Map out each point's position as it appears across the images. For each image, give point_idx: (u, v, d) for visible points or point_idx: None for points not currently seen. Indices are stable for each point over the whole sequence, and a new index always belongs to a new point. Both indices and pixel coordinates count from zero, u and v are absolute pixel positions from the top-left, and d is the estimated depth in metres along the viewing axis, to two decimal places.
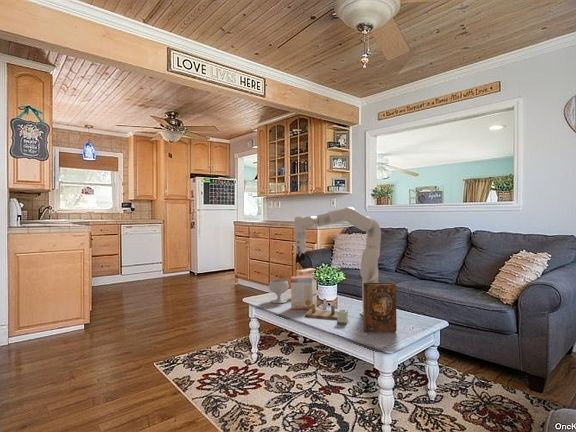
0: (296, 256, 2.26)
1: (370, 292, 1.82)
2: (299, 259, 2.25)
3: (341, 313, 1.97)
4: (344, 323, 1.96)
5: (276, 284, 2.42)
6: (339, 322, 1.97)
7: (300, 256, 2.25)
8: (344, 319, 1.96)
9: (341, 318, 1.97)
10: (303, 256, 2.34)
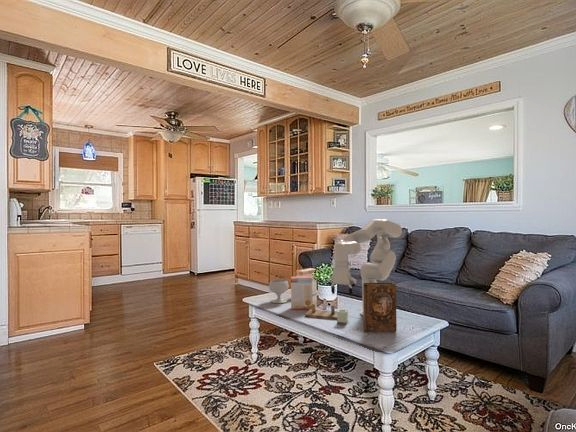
0: (350, 288, 1.96)
1: (370, 292, 1.82)
2: None
3: (341, 313, 1.97)
4: (344, 323, 1.96)
5: (276, 284, 2.42)
6: (339, 322, 1.97)
7: None
8: (344, 319, 1.96)
9: (341, 318, 1.97)
10: (334, 288, 2.02)
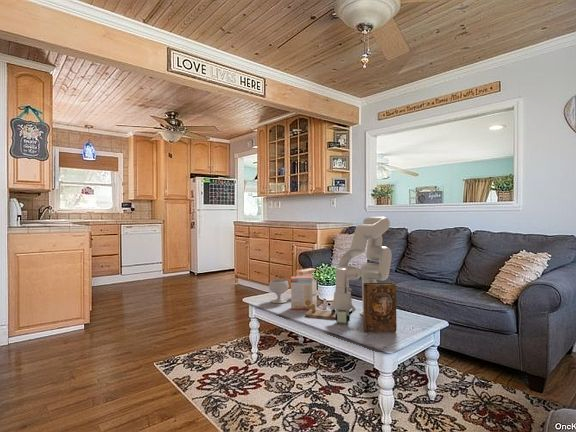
0: (347, 315, 1.97)
1: (370, 292, 1.82)
2: None
3: (341, 313, 1.97)
4: (344, 323, 1.96)
5: (276, 284, 2.42)
6: (339, 322, 1.97)
7: None
8: (344, 319, 1.96)
9: (341, 318, 1.97)
10: None
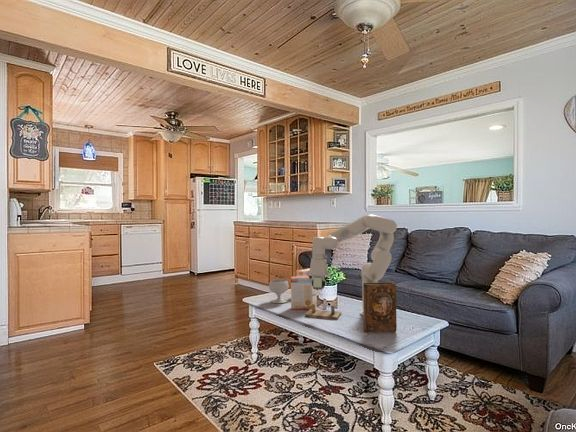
0: (323, 281, 2.10)
1: (370, 292, 1.82)
2: None
3: (317, 279, 2.10)
4: (319, 288, 2.09)
5: (276, 284, 2.42)
6: (315, 287, 2.10)
7: None
8: (320, 284, 2.10)
9: (317, 283, 2.10)
10: None
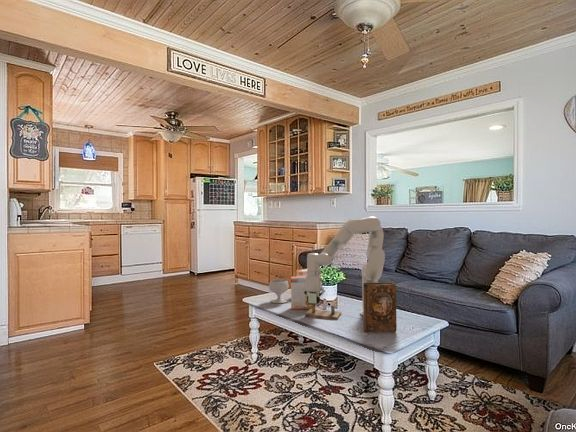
0: (317, 297, 2.14)
1: (370, 292, 1.82)
2: None
3: (312, 294, 2.14)
4: (314, 304, 2.13)
5: (276, 284, 2.42)
6: (310, 303, 2.14)
7: None
8: (314, 300, 2.13)
9: (311, 299, 2.14)
10: None
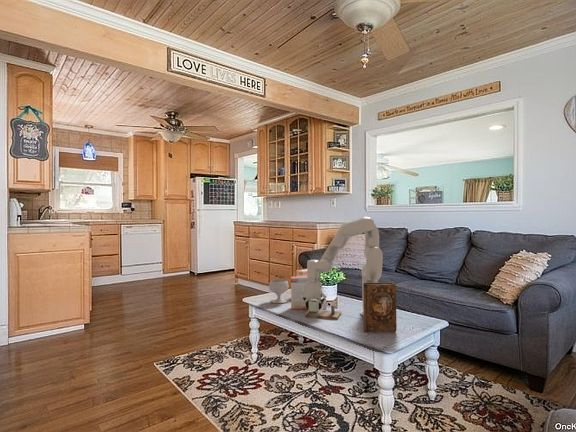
0: (319, 303, 2.14)
1: (370, 292, 1.82)
2: None
3: (312, 303, 2.14)
4: (315, 312, 2.13)
5: (276, 284, 2.42)
6: (310, 311, 2.14)
7: None
8: (315, 308, 2.13)
9: (312, 307, 2.14)
10: (308, 303, 2.18)
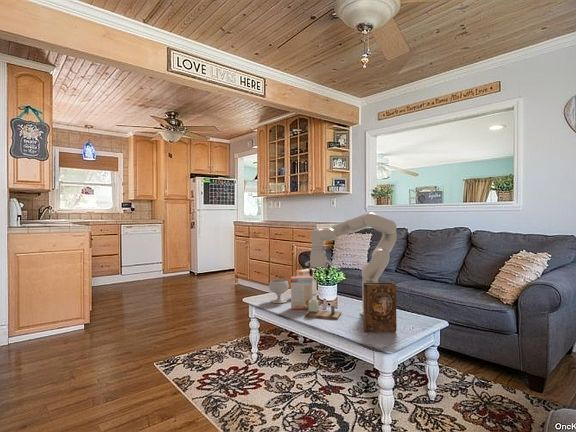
0: (326, 270, 2.16)
1: (370, 292, 1.82)
2: None
3: (312, 303, 2.14)
4: (315, 312, 2.13)
5: (276, 284, 2.42)
6: (310, 311, 2.14)
7: None
8: (315, 308, 2.13)
9: (312, 307, 2.14)
10: (312, 271, 2.21)
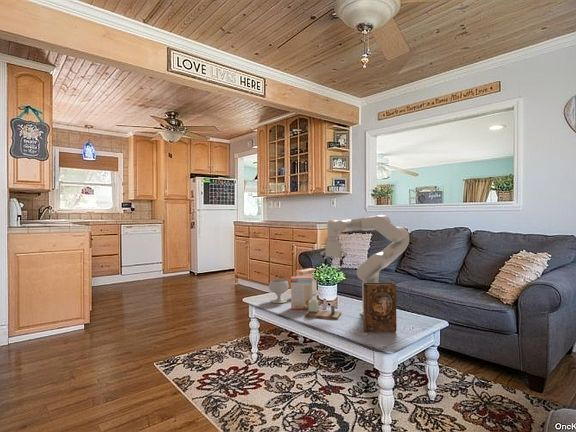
0: (341, 259, 2.26)
1: (370, 292, 1.82)
2: None
3: (312, 303, 2.14)
4: (315, 312, 2.13)
5: (276, 284, 2.42)
6: (310, 311, 2.14)
7: None
8: (315, 308, 2.13)
9: (312, 307, 2.14)
10: None
